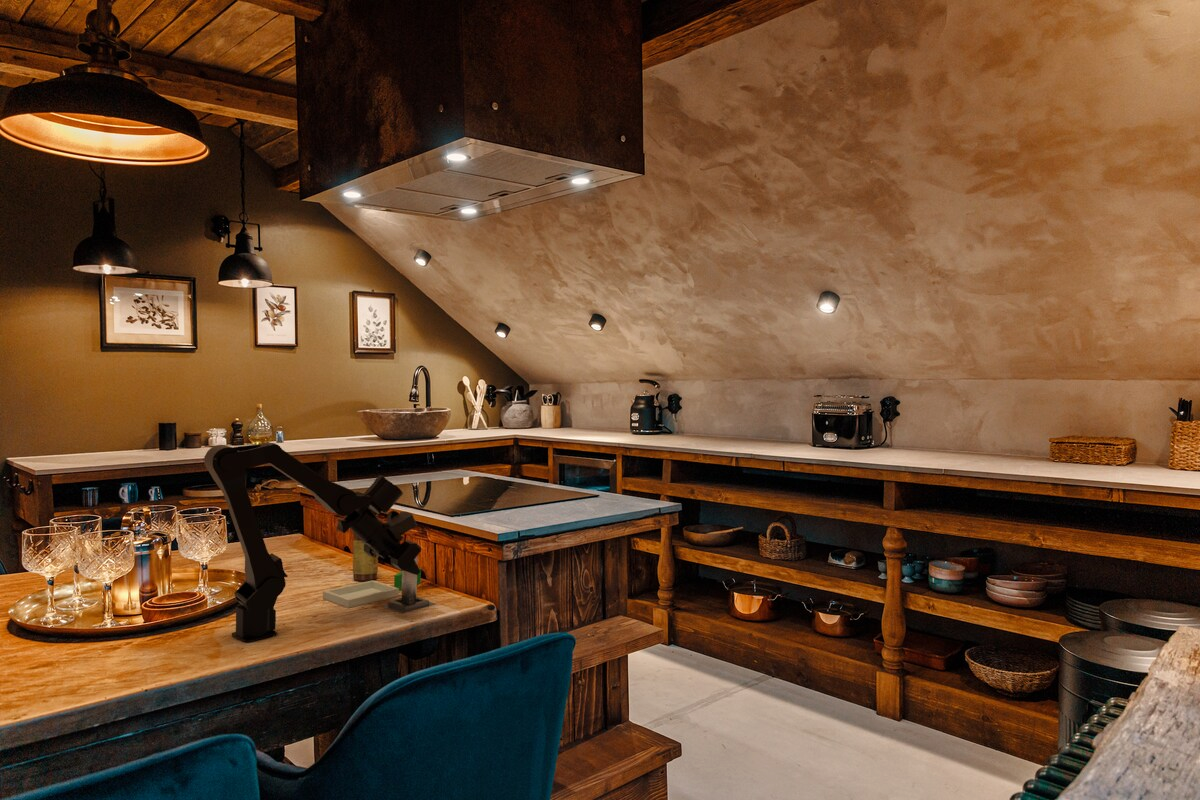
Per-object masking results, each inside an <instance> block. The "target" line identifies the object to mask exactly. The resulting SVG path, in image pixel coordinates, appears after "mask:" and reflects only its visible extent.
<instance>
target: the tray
mask: <svg viewBox="0 0 1200 800" xmlns="http://www.w3.org/2000/svg"><path fill="white" fill-rule="evenodd" d="M399 593H400V591H399V588H396V587H394V586H392V585H388V584H386V583H383V582H380V581H376V580H375V579H373V580H370V581H362V582H359V583H355V584H349V585H345V586H340V587H336V588H332V589H331V588H330V589H326V590H323V591H322V600H324V601H327V602H329V603H333V604H335V605H338V606H341V607H343V608H346V609H351V608H352V609H353V608H355V607H361V606H364V605H367V604H372V603H377V602H381V601H384V600H389V599H392V598H393V599H394V598H397V597H399V595H400V594H399Z"/></svg>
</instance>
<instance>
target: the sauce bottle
mask: <svg viewBox="0 0 1200 800" xmlns="http://www.w3.org/2000/svg"><path fill="white" fill-rule="evenodd" d="M368 509H369V510H371V511H372V512H373V513H374V514H375V512H374V511H373V510H372V509H371V508H370V507H368ZM360 540H361V539H360V538H359V537H358V536H357V535H356V534H355V533H354V532H353V541H352V542H353V543H352V546H353V547H352V573H353V577H352V578H353V579H354V580H355V581H358V582H368V581H372V580H375V579H377V577H378V572H379V560H378V557H379V556H378V555H376V554H375V556H374V558H373V557H371V556H369V555H368V554H367V553H366V552H364V543H362V542H361V541H360Z"/></svg>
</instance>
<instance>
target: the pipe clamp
mask: <svg viewBox="0 0 1200 800" xmlns="http://www.w3.org/2000/svg"><path fill="white" fill-rule="evenodd" d="M418 568H419V570H420V573H419V574H418V575H417V585H421V584H422V583H421V581H422V580H421V579H422V578H421V577H422V568H421V567H418ZM393 580H394V581H393V582H394V585H393V587H396V588H399V592H400V591H402V570H400V571H399V572H397V573H396V574H394V578H393Z"/></svg>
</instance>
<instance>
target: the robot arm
mask: <svg viewBox="0 0 1200 800" xmlns="http://www.w3.org/2000/svg"><path fill="white" fill-rule="evenodd" d="M203 461H204V465H205V467H206V469H207V471H208V473H209V475H210V476H211V478H212V479H213V481H214V482H215V483H216V485H217V486H218V488H219V489H220V491H221V493H222V494H223V497H224V500H225V503H226V506H227V508H228V510H229V511H228V512H229V515H230V518H231V521H232V523H233V525H234V528H235V532H236V534H237V537H238V541H239V543H240V546H241V549H242V552H243V555H244V576H245V581H243V583H241V585H240V586H238V587H237V589H236V590H235V591H234V593H233V594H234V599H236V602H237V603H239V604H240V605H237V606H236V607H235V631H234V632H231V636H232V637H234V638H236V639H238V640H240V641H242V642H244V643H251V642H255V641H259V640H262V639H266V637H267V638H270V637H269V636H271V637H274V636H273V635H275V636H277V635H278V632H277V631H276V628H277V627H276V625H277V624H276V623H277V622H276V621H277V617H276V616H277V609H275V608H274V607H275V605H276V603H277V600H278V597H279V596H280V595H281V594H282V593H283V592H284V589H285V588H286V585H287V584H286V583H287V582H286V578H288V574H287V573H286V572H285V570H284V564H283V561H282V558H281V557H279V556H278V555H276V554H274V553H273V552H272V553H269V551H268V548H267V547H266V546H267V545H266V543H265V540H264V537H263V534H262V531H261V529H260V524H259V523H258V519H257V515H256V513H255V511H254V508H253V505H252V502H251V498H250V495H249V493H248V490H247V469H253V468H257V467H260V466H263V465H269V466H271V467H272V468H274V469H276V470H277V471H278V472H280V473H282V474H283V475H285V476H286V477H287V478H289V479H290V480H292V481H293V482H295V483H296V484H297V485H299V486H301V487H303V488H304V489H305V490H307V491H308V492H309V493H310V494H311V495H312V496H313V497H314V498H315V499H316V501H317V502H318V503H319V504H320V505H321V506H322V507H323V508H325V510H327V511H329V512H331V513H332V514H333V513H334V514H336V515H337V516H338V515H339V516H341V517H343V518H338V519H337V520H336V521H337V525H336V526H337V527H336V531H338V532H341V533H343V534H346V533H347V531H349V530H351V531H352V532H353V534H354V533H355V534H356V535H357V536H358V537H359V538H360V539H361V540H360V541H361V542H362V543H364V552H366V553H367V554H368V555H369V556H371V557H373V558H374V556H375V554H376V555H378V562H379V561H380V562H381V563H384V564H387V565H390V566H391V567H393V568H394V569H398V570H400V571H406V572H409V573H412V574H415V575H418V574H419V573H420V570H419V568H420V567H419V566H418V563H417V564H416V562H415V560H414V559H415V558H416V557H417V555H420V553H421V552H422V550H423V549H422V547H421V546H419V545H418V544H419V543H418V542H414V541H412V540H404V541H403V542H401V541H402V540H403V539H404V536H403V535H405V534H406V533H407V532H409V531H411V530H412V529H415V528H416V527H418V524H417V522H416V519H415V518H414V514H413V513H412V512H408V511H400V512H398V511H397V510H394V509H392V507H393V506H394V505H395V504H396V503H397V501H398V500H400V498H401V497H402V496H403V495H404V493H403V491H402V489H401V488H399V486H397V485H395V483H393V482H391V481H389V480H388V479H387V478H386V477H385V476H384V475H378V476H377V477H376V478H375V479H374V481H373V483H372V484H371V485H370V486H369V487H368V488H367V489H366V490H365V491H364V492H360V491H354V490H352V489H349V488H348V487H345V486H344V485H341V484H338V483H336V482H333V481H331V480H329V479H326V478H325V477H323V476H322V475H320V474H319V473H317V471H314V470H313V469H312V468H310V467H308V466H307V465H306V464H304V463H303V462H301V461H300V460H298V459H297V458H295V457H294V456H292V455H291V454H290V453H289V452H287V451H286V450H284V449H283V448H282V447H281V446H280V445H279V444H277V443H273V442H270V441H265V442H262V443H259V444H249V445H239V446H233V447H232V446H229V445H225V444H224V445H223V444H218V445H214V446H211V448H209V449H208V450H207V452H206V453H205V455H204V457H203ZM368 507H370V508H371V509H372V510H373V511H374V513H373V512H372V511H371V510H369V509H368ZM390 509H391V510H390ZM381 513H383V514H387V518H386V522H384V521H382V520H381V519H380V518H379V517H378V516H377V514H378V515H380V514H381ZM417 543H418V544H417ZM276 634H277V635H276Z"/></svg>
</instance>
